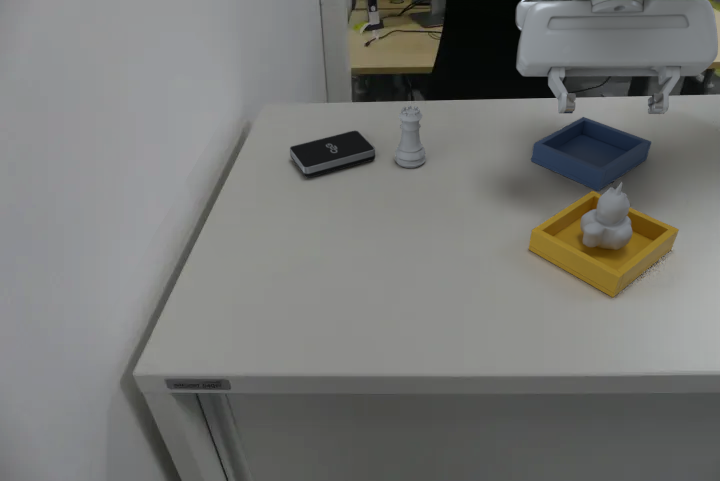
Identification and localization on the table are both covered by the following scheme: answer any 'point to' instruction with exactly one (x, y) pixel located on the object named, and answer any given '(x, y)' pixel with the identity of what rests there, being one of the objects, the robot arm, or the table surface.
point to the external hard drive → (332, 153)
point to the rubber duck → (608, 221)
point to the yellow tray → (596, 264)
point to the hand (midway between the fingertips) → (611, 112)
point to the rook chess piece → (410, 139)
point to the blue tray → (590, 152)
